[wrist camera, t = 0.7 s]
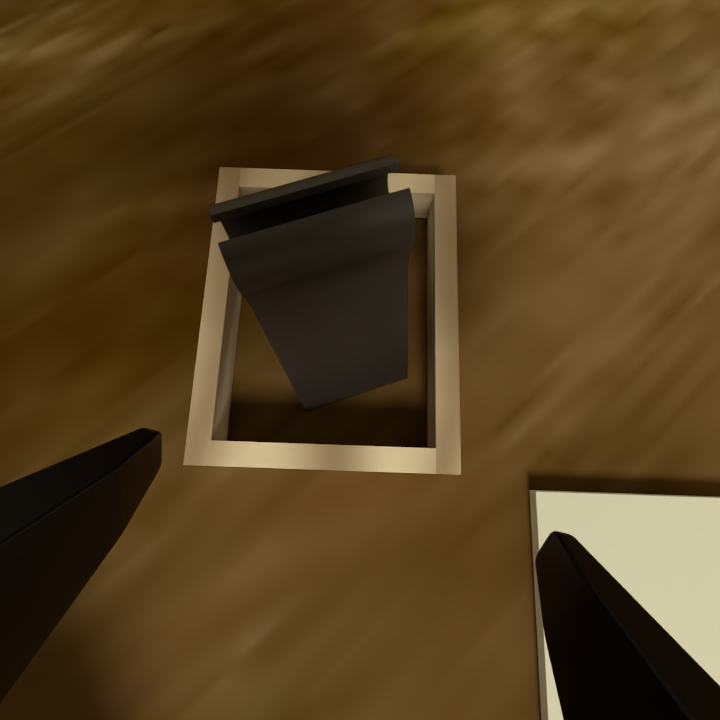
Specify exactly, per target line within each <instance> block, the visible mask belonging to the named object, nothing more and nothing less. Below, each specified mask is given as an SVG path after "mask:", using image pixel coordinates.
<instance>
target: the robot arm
mask: <svg viewBox="0 0 720 720" xmlns="http://www.w3.org/2000/svg"><path fill="white" fill-rule="evenodd" d="M161 462H162V435H161V433H160V432H158V431H155V430H151V429H147V428H141V429H138V430H135V431H133V432H131V433H128V434H126V435H123V436H121V437H119V438H116V439H114V440H112V441H109V442H107V443H104V444H102V445H100V446H97V447H95V448H92V449H90V450H88V451H85V452H83V453H80V454H78V455H76V456H73V457H71V458H69V459H66V460H64V461H61V462H59V463H57V464H54V465H52V466H49V467H47V468H45V469H42V470H40V471H38V472H35V473H33V474H30V475H28V476H26V477H23V478H21V479H18V480H16V481H14V482H11V483H9V484H6V485H4V486H2V487H0V703H1V701H2V700H3V699H4V697H5V696H6V695H7V693H8V692H9V690H10V689H11V688H12V686H13V685H14V683H15V682H16V681H17V679H18V678H19V677H20V675H21V674H22V672H23V671H24V670H25V668H26V667H27V665H28V664H29V663H30V661H31V660H32V658H33V657H34V656H35V654H36V653H37V652H38V650H39V649H40V647H41V646H42V645H43V643H44V642H45V640H46V639H47V638H48V636H49V635H50V633H51V632H52V631H53V629H54V628H55V627H56V625H57V624H58V622H59V621H60V620H61V618H62V617H63V615H64V614H65V613H66V611H67V610H68V608H69V607H70V606H71V604H72V603H73V602H74V600H75V599H76V597H77V596H78V595H79V593H80V592H81V590H82V589H83V588H84V586H85V585H86V583H87V582H88V581H89V579H90V578H91V577H92V575H93V574H94V572H95V571H96V570H97V568H98V567H99V565H100V564H101V563H102V561H103V560H104V558H105V557H106V556H107V554H108V553H109V552H110V550H111V549H112V547H113V546H114V545H115V543H116V542H117V540H118V539H119V537H120V536H121V534H122V533H123V531H124V530H125V528H126V526H127V525H128V523H129V521H130V520H131V518H132V516H133V514H134V513H135V511H136V509H137V507H138V506H139V504H140V502H141V500H142V499H143V497H144V495H145V493H146V492H147V490H148V488H149V486H150V485H151V483H152V481H153V479H154V478H155V476H156V474H157V472H158V471H159V468H160V466H161ZM535 566H536V574H537V582H538V589H539V597H540V605H541V613H542V621H543V628H544V634H545V639H546V644H547V649H548V653H549V658H550V662H551V667H552V671H553V676H554V680H555V684H556V689H557V693H558V698H559V702H560V706H561V711H562V715H563V720H720V685H719V684H718V683H717V682H716V681H715V680H714V679H713V678H712V677H711V676H710V675H709V674H708V673H707V672H706V671H705V670H704V669H703V668H702V667H701V666H700V665H699V664H698V663H697V662H696V661H695V660H694V659H693V658H692V657H691V656H690V655H689V654H688V653H687V652H686V651H685V650H684V649H683V648H682V647H681V646H680V645H679V644H678V642H677V641H676V640H675V639H674V638H673V637H672V636H671V635H670V634H669V633H668V632H667V631H666V630H665V629H664V628H663V627H662V626H661V625H660V624H659V623H658V622H657V621H656V620H655V619H654V618H653V617H652V616H651V615H650V614H649V613H648V612H647V611H646V610H645V609H644V608H643V607H642V606H641V605H640V604H639V603H638V602H637V601H636V600H635V599H634V597H633V596H632V595H631V594H630V593H629V592H628V591H627V590H626V589H625V588H624V587H623V586H622V585H621V584H620V583H619V582H618V581H617V580H616V579H615V578H614V577H613V576H612V575H611V574H610V573H609V572H608V571H607V570H606V569H605V568H604V567H603V566H602V565H601V564H600V563H599V562H598V561H597V560H596V559H595V558H594V557H593V556H592V555H591V554H590V553H589V551H588V550H587V549H586V548H585V547H584V546H583V545H582V544H581V543H580V542H579V541H578V540H577V539H576V538H575V537H574V536H572V535H570V534H567V533H563V532H559V531H553V532H551V533H550V534H549V536H548V537H547V539H546V541H545V542H544V544H543V545H542V547H541V548H540V550H539V551H538V553H537V556H536V560H535Z"/></svg>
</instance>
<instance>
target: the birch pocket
mask: <svg viewBox="0 0 720 720" xmlns="http://www.w3.org/2000/svg"><path fill="white" fill-rule="evenodd" d="M327 172H330V171H317V170H289V169H261V168H233V167H220V170H219V178H218V186H217V195H216V203H220V202H223V201H227V200H231V199H234V198H238V197H241V196H245V195H248V194H252V193H256V192H259V191H263V190H266V189H270V188H273V187H277V186H281V185H284V184H288V183H291V182H295V181H298V180H302V179H305V178H309V177H313V176H316V175H320V174H323V173H327ZM406 188H410V191H411V195H412V199H413V204H414V211H415V218H427V448H413V447H384V446H356V445H328V444H299V443H271V442H242V441H227V435H228V426H229V416H230V406H231V396H232V386H233V377H234V367H235V357H236V347H237V337H238V327H239V318H240V308H241V298H242V295H241V293H240V292H239V290H238V289H237V287H236V285H235V283H234V282H233V280H232V277H231V275H230V273H229V271H228V269H227V266H226V264H225V261H224V259H223V256H222V254H221V251H220V248H219V246H218V243H219V242H222V241H226V240H229V238H228V236H227V233H226V231H225V229H224V227H223V225H222V223H221V222H216V223H214V222H213V227H212V235H211V243H210V252H209V260H208V268H207V276H206V284H205V292H204V300H203V309H202V317H201V325H200V333H199V341H198V349H197V357H196V366H195V374H194V382H193V390H192V398H191V406H190V414H189V423H188V431H187V439H186V447H185V455H184V463H183V465H201V466H230V467H258V468H287V469H315V470H344V471H372V472H401V473H429V474H457V475H461V448H460V392H459V335H458V279H457V223H456V175H429V174H401V173H389V174H388V191H389V193H392V192H396V191H399V190H403V189H406ZM216 203H215V204H216Z"/></svg>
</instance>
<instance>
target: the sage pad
mask: <svg viewBox="0 0 720 720" xmlns="http://www.w3.org/2000/svg"><path fill="white" fill-rule="evenodd" d="M529 491H530V511H531V530H532V549H533V569H534V588H535V607H536V626H537V646H538V665H539V684H540V704H541V720H563V715H562V711H561V706H560V702H559V698H558V693H557V689H556V684H555V680H554V676H553V671H552V667H551V662H550V658H549V653H548V649H547V644H546V639H545V634H544V628H543V621H542V613H541V605H540V597H539V589H538V582H537V574H536V566H535V560H536V556H537V553H538V551H539V550H540V548H541V547H542V545H543V544H544V542H545V541H546V539H547V537H548V536H549V534H550V533H551V532H553V531H559V532H563V533H567V534H570V535H572V536H574V537H575V538H576V539H577V540H578V541H579V542H580V543H581V544H582V545H583V546H584V547H585V548H586V549H587V550H588V551H589V553H590V554H591V555H592V556H593V557H594V558H595V559H596V560H597V561H598V562H599V563H600V564H601V565H602V566H603V567H604V568H605V569H606V570H607V571H608V572H609V573H610V574H611V575H612V576H613V577H614V578H615V579H616V580H617V581H618V582H619V583H620V584H621V585H622V586H623V587H624V588H625V589H626V590H627V591H628V592H629V593H630V594H631V595H632V596H633V597H634V599H635V600H636V601H637V602H638V603H639V604H640V605H641V606H642V607H643V608H644V609H645V610H646V611H647V612H648V613H649V614H650V615H651V616H652V617H653V618H654V619H655V620H656V621H657V622H658V623H659V624H660V625H661V626H662V627H663V628H664V629H665V630H666V631H667V632H668V633H669V634H670V635H671V636H672V637H673V638H674V639H675V640H676V641H677V642H678V644H679V645H680V646H681V647H682V648H683V649H684V650H685V651H686V652H687V653H688V654H689V655H690V656H691V657H692V658H693V659H694V660H695V661H696V662H697V663H698V664H699V665H700V666H701V667H702V668H703V669H704V670H705V671H706V672H707V673H708V674H709V675H710V676H711V677H712V678H713V679H714V680H715V681H716V682H717V683H718V684H719V685H720V497H716V496H688V495H659V494H631V493H603V492H574V491H546V490H529Z"/></svg>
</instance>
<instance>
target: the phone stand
mask: <svg viewBox="0 0 720 720" xmlns="http://www.w3.org/2000/svg"><path fill="white" fill-rule="evenodd" d="M396 171H400V162H399V161H398V159H397V158H396V157H395V156H394V155H388V156H384V157H380V158H377V159H373V160H370V161H366V162H363V163H359V164H355V165H352V166H348V167H345V168H341V169H338V170H334V171H330V172H327V173H323V174H320V175H316V176H313V177H309V178H305V179H302V180H298V181H295V182H291V183H288V184H284V185H281V186H277V187H273V188H270V189H266V190H263V191H259V192H256V193H252V194H248V195H245V196H241V197H238V198H234V199H231V200H227V201H223V202H220V203H216V204H213V205H210V207H209V212H210V217H211V218H212V220H213V222H214V223H216V222H221V223H222V225H223V227H224V229H225V231H226V233H227V236H228V238H229V240H226V241H222V242H219V243H218V246H219V248H220V251H221V254H222V256H223V259H224V261H225V264H226V266H227V269H228V271H229V273H230V275H231V277H232V280H233V282H234V283H235V285H236V287H237V289H238V290H239V292H240V293H241V295H242V296H243V297H244V298H245V299H246V300H247V301H248V302H249V304H250V306H251V307H252V309H253V311H254V312H255V314H256V316H257V318H258V320H259V322H260V324H261V326H262V328H263V330H264V332H265V334H266V336H267V337H268V339H269V341H270V343H271V345H272V347H273V349H274V351H275V353H276V355H277V357H278V359H279V361H280V363H281V365H282V366H283V368H284V370H285V372H286V374H287V376H288V378H289V380H290V382H291V384H292V386H293V388H294V390H295V392H296V394H297V396H298V397H299V399H300V401H301V403H302V405H303V407H304V409H305V411H307V410H311V409H314V408H317V407H320V406H323V405H326V404H329V403H332V402H335V401H338V400H341V399H344V398H348V397H351V396H354V395H357V394H360V393H363V392H366V391H369V390H372V389H375V388H378V387H381V386H385V385H388V384H391V383H394V382H397V381H400V380H403V379H406V378H407V369H408V259H409V253H410V250H411V248H412V246H413V244H414V241H415V236H416V220H415V211H414V204H413V199H412V195H411V191H410V188H406V189H403V190H399V191H396V192H392V193H389V191H388V174H389V173H393V172H396Z"/></svg>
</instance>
